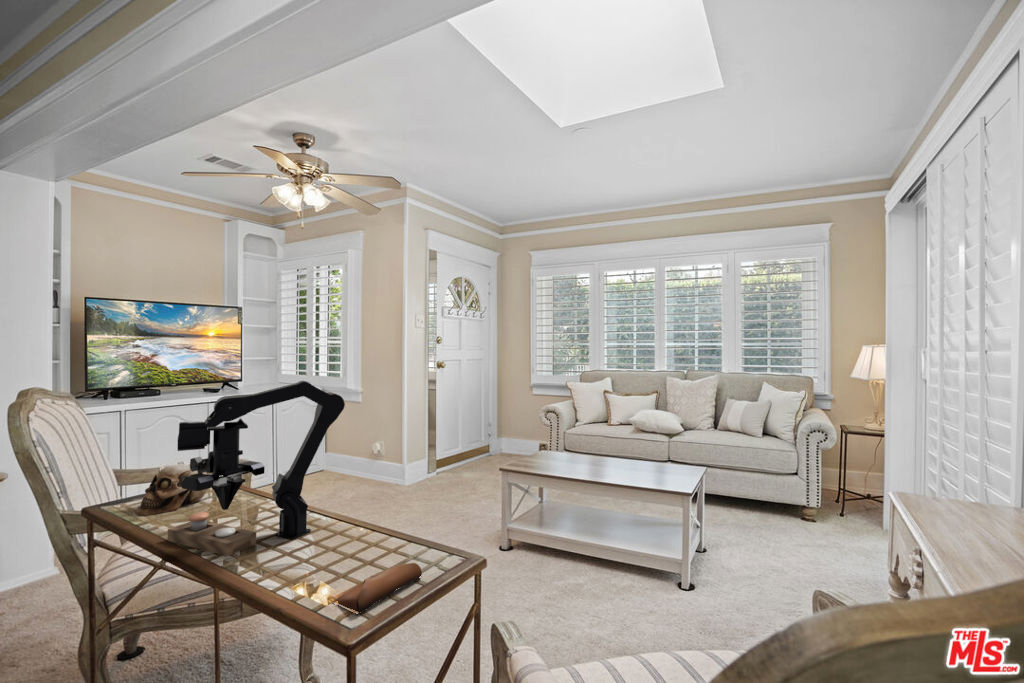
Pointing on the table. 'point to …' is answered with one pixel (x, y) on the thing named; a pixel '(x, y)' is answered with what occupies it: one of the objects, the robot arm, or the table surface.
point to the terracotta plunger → (198, 521)
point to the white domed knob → (225, 532)
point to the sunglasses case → (379, 586)
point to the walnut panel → (212, 538)
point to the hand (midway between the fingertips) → (225, 509)
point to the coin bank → (169, 491)
